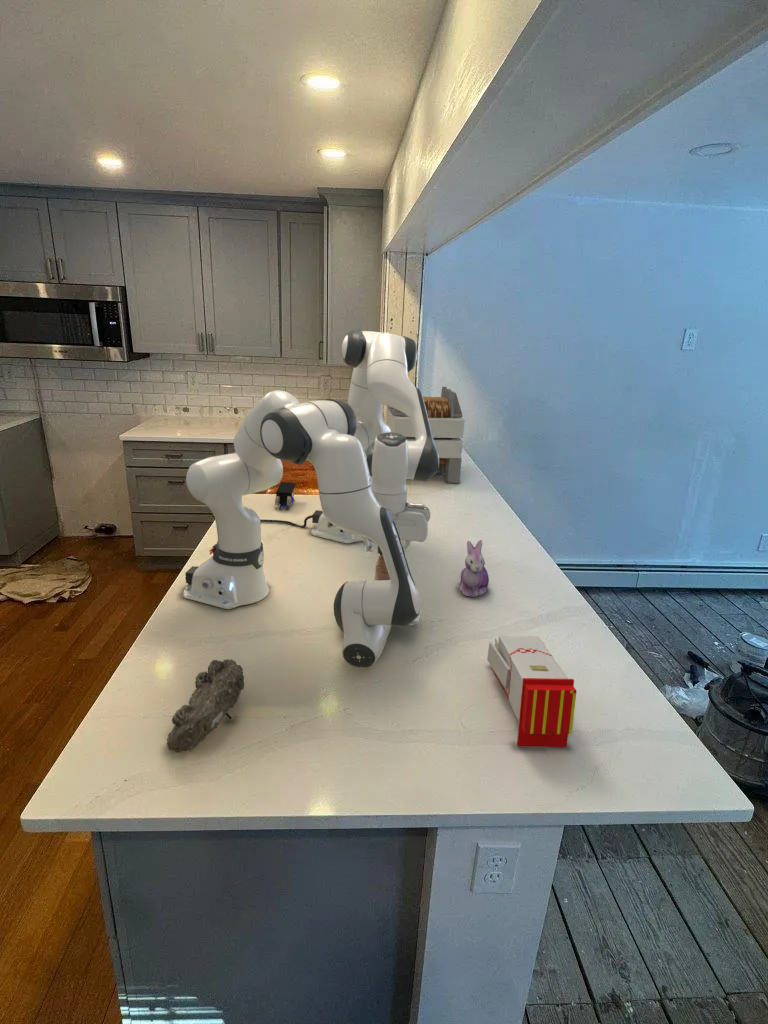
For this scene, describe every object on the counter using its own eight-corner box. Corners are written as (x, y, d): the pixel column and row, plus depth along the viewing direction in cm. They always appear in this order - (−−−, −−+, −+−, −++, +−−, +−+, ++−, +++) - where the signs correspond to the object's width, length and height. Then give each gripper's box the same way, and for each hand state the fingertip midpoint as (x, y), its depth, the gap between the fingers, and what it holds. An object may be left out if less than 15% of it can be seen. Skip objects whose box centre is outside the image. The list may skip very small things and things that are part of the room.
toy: (536, 619, 129) (586, 686, 99) (531, 673, 131) (578, 754, 102) (483, 618, 128) (517, 685, 99) (479, 672, 131) (511, 753, 102)
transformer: (382, 463, 289) (386, 382, 275) (445, 464, 293) (451, 384, 279) (390, 482, 257) (394, 392, 243) (460, 483, 261) (468, 394, 247)
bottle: (396, 609, 150) (400, 544, 143) (389, 619, 145) (393, 552, 139) (377, 605, 151) (380, 540, 145) (370, 614, 147) (372, 548, 140)
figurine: (470, 601, 155) (475, 551, 150) (449, 585, 164) (454, 537, 159) (497, 594, 160) (504, 545, 154) (476, 579, 168) (481, 532, 163)
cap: (387, 557, 139) (387, 549, 139) (373, 552, 142) (374, 543, 141) (399, 552, 143) (399, 544, 142) (385, 547, 145) (385, 538, 145)
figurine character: (292, 514, 217) (296, 498, 230) (291, 496, 214) (296, 480, 227) (274, 514, 217) (280, 497, 230) (273, 496, 213) (279, 480, 227)
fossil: (192, 660, 117) (244, 628, 112) (224, 691, 120) (276, 661, 115) (142, 746, 98) (202, 712, 93) (182, 779, 101) (242, 748, 96)
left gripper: (418, 613, 132) (425, 586, 144) (333, 602, 135) (347, 577, 148) (416, 637, 134) (423, 608, 147) (332, 625, 137) (347, 598, 150)
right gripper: (432, 501, 139) (428, 552, 144) (351, 493, 142) (350, 543, 147) (429, 509, 133) (425, 563, 138) (345, 500, 136) (343, 553, 141)
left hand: (384, 592), depth 147 cm, fingers closed on bottle, 5 cm apart
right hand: (385, 553), depth 142 cm, fingers open, 7 cm apart
